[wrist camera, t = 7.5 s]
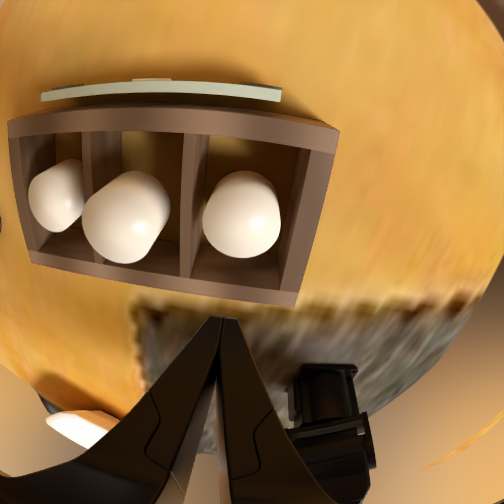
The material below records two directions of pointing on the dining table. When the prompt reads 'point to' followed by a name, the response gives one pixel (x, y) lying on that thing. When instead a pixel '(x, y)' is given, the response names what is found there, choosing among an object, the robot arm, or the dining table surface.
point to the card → (166, 89)
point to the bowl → (82, 425)
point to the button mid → (126, 216)
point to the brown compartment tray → (192, 195)
